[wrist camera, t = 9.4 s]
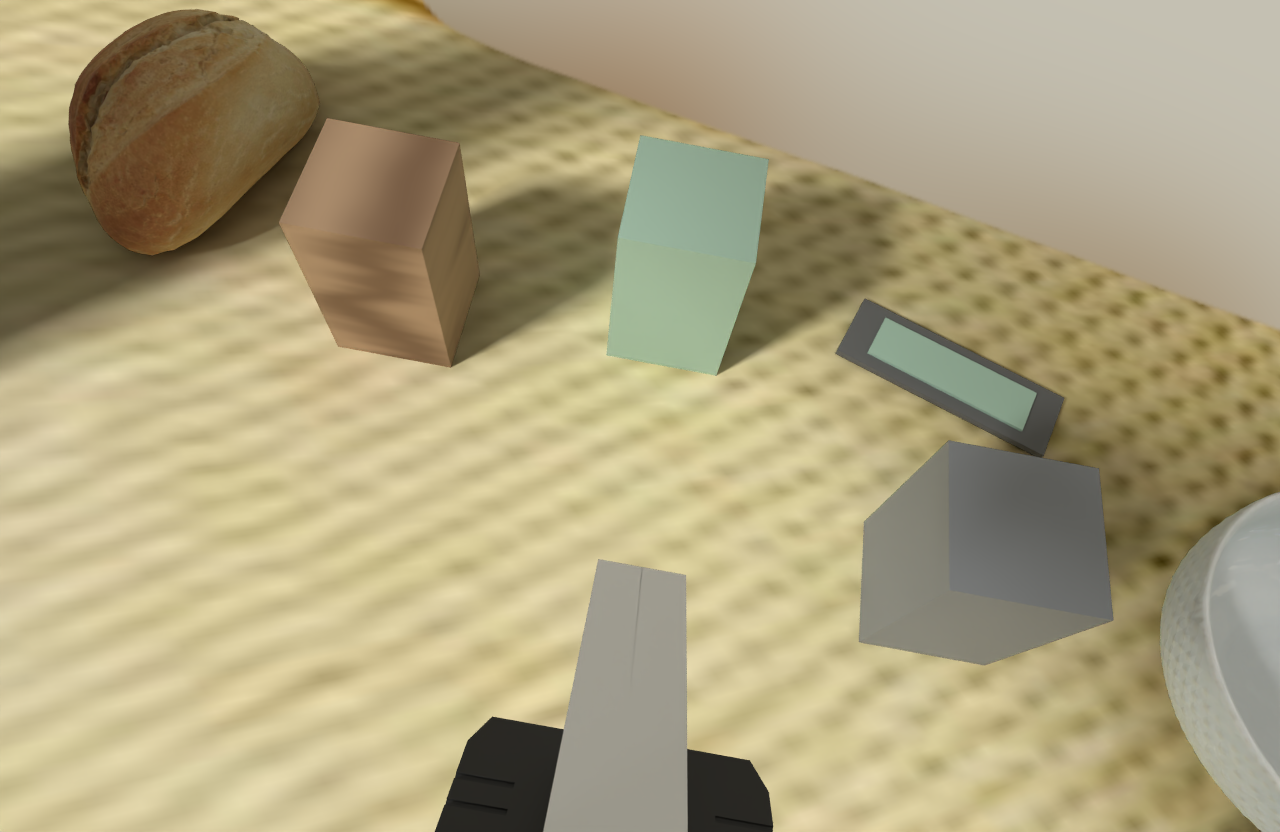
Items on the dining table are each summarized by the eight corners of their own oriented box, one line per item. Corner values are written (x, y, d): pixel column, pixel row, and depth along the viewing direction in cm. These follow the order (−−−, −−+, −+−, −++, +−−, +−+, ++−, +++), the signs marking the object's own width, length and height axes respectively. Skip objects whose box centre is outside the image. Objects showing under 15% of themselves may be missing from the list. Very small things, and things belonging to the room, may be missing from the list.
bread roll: (58, 233, 44) (-38, 121, 37) (226, 61, 51) (171, -62, 44) (211, 299, 43) (142, 198, 36) (362, 115, 50) (329, -2, 43)
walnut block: (338, 346, 43) (278, 222, 34) (373, 255, 45) (327, 117, 36) (450, 367, 43) (421, 249, 34) (479, 275, 45) (459, 142, 36)
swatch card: (835, 353, 45) (838, 348, 45) (862, 302, 47) (866, 296, 46) (1039, 458, 43) (1045, 454, 43) (1060, 401, 45) (1066, 396, 44)
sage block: (606, 355, 44) (618, 237, 35) (625, 265, 47) (640, 135, 38) (716, 375, 44) (755, 263, 35) (728, 285, 47) (768, 159, 38)
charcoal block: (858, 642, 38) (949, 589, 29) (863, 521, 41) (948, 440, 32) (984, 665, 38) (1113, 620, 29) (981, 543, 41) (1098, 468, 32)
